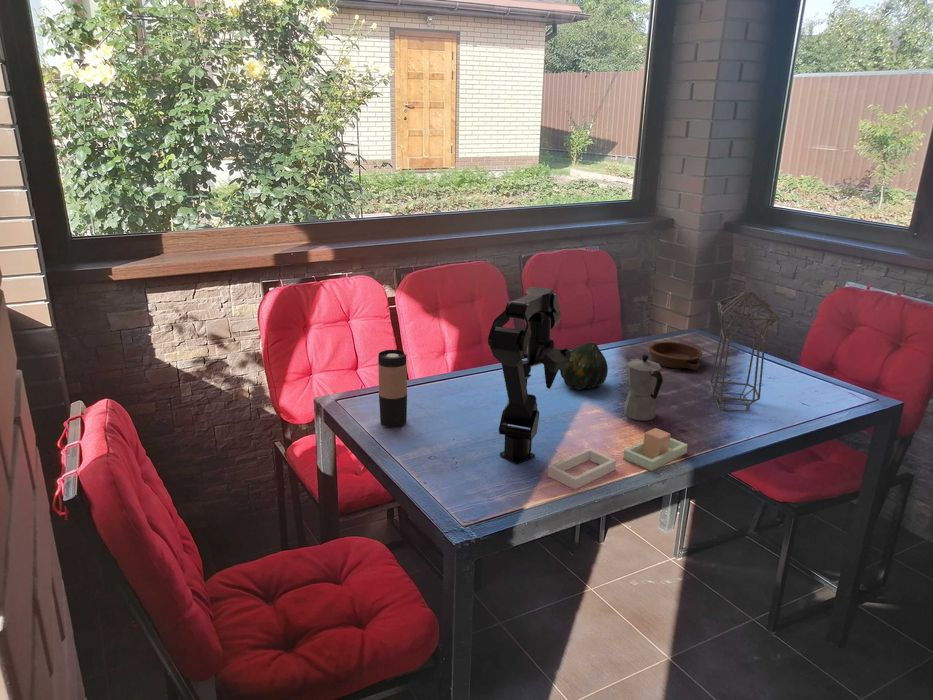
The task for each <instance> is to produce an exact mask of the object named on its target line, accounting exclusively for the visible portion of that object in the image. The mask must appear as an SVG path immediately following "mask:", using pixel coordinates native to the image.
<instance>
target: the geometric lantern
mask: <svg viewBox="0 0 933 700" xmlns="http://www.w3.org/2000/svg"><path fill="white" fill-rule="evenodd" d="M751 298H753V299H754V300H755V301H756V302H757V303H758V304H752V299H751ZM729 300H731V301H729ZM728 301H729V302H728ZM747 302H748V304H747ZM743 303H744V304H743ZM715 304H717V310H718V320H719V322H720V325H721V329H720V334H719V340H718V345H717V348H716V353H715V357H714V363H713V369H712V373H711V377H710V382H709V385H710V386H709V387H710V390H711V395H712V396H713V398H715V403H716V405H717V407H718V410H720V411H727V412H728V411H729V412H730V411H731V412H746V413H747V412H748V411H749V410H750V407H751V404H754V403H755V402H757V401H759V400H760V399H761V393H762V391H761V390H762V380H763V369H764V362H765V361H764V359H765V351H766V350H765V348H766V343H767V341H766V340H765V338H766V334H767V330H768V328H769V326H770V327H772V326H773V324H775V322H777V320H778V321H779V320H781V318H780V317H779V316H778V315H777V314H776V313H775V312H774V311H773V309H772V306H771V304H769V303H767V302H766V301H765V300H764V299H763V298H761V297H759V296H758V295H757V294H756V293H755V292H754V291H751V290H746V291H745V290H744V291H743V292H740V293H736V294H735V295H732V296H729V297H726V298H723V299H721V300H717V301H715ZM737 307H739V308H738V310H736V309H737ZM741 307H742V311H741ZM753 307H758V308H756V309H755V310H753ZM746 308H749V309H748V312H747V313H745V310H746ZM762 309H763V310H765V312H766V313H768V317H767V318H766V317H761V318H760V317H759V318H754V314H755V313H756V312H758V311H760V310H762ZM730 310H731V311H730ZM728 311H730V312H729V313H728ZM726 313H728V314H727V315H726ZM732 313H735V314H732ZM724 317H725V318H729V319H731V321H730V323H729V324H728V326H727V327H726V328H724V324H723V318H724ZM736 318H739V319H740V322H738V321H737V320H736ZM743 319H744V320H748V321H749V322H750V325H751V326H747V325H746V326H743V322H744V321H743ZM754 321H761V322H759V323H757V324H755V325H754ZM762 321H763V322H762ZM733 323H735V324H736V325H738V326H739V327H738V328H737V329H731V328H730V327H731V325H732V324H733ZM762 325H764V326H763V328H762V329H761V331H760V332H759V331H757V329H756V328H757V327H759V326H762ZM745 329H751V330H745ZM729 331H733V333H731V335H730V336H728V332H729ZM737 332H746V333H753V334H754V337H753V342H752V341H742V340H733V339H731V337H732V336H733V335H735V334H736V333H737ZM763 332H764V334H763ZM758 335H759V336H758ZM722 338H723V341H722ZM731 342H732V343H733V342H734V343H745V344H752V350H751V356H750V360H749V367H748V372H747V378H746V383H744V382H733V381H732V382H731V381H725V377H726V371H727V363H728V354H729V350H730V349H729V347H730V343H731ZM721 344H722V346H721ZM756 345H757V351H756V358H755V359H756V361H755V369H754V370H755V371H754V382H753V385H752V384H750V383H749V381H750V374H751V371H752V364H753V360H754V359H753V357H754V353H755V347H756ZM761 345H762V351H761ZM725 347H726V350H725ZM720 348H721V350H720ZM724 352H725V357H724ZM760 352H761V362H760V364H761V365H760V373H759V383H758V390H757V380H758V370H759V359H760ZM719 353H720V356H719ZM718 357H719V361H718ZM723 357H724V358H725V359H724V366H723V374H722V380H720V381H719V375H720V371H721V365H722V361H723ZM717 362H718V365H717ZM716 367H717V369H716ZM715 372H716V375H715ZM714 375H715V379H714ZM713 380H714V381H713ZM718 384H721V386H720V387H721V388H720V390H719V386H718ZM724 384H725V385H726V384H727V385H739V386H744V388H743V390H742V392H741V393H740V392H739V393H736V392H724ZM747 387H749V388H751V389H750V390H749V391H748V392H746V393H745V390H746V388H747ZM716 389H717V390H716ZM751 392H752V399H748V398H747V395H749V394H750V393H751ZM744 393H745V394H744ZM723 395H737V396H739V397H731V396H723ZM756 397H757V398H756ZM724 400H727V401H739V402H740V401H741V402H743V403H734V402H725V401H724ZM746 402H747V403H746ZM719 403H720V405H719ZM722 405H723V408H722ZM726 405H736V406H737V405H738V406H745V407H746V408H745V409H727V408H726Z"/></svg>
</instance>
